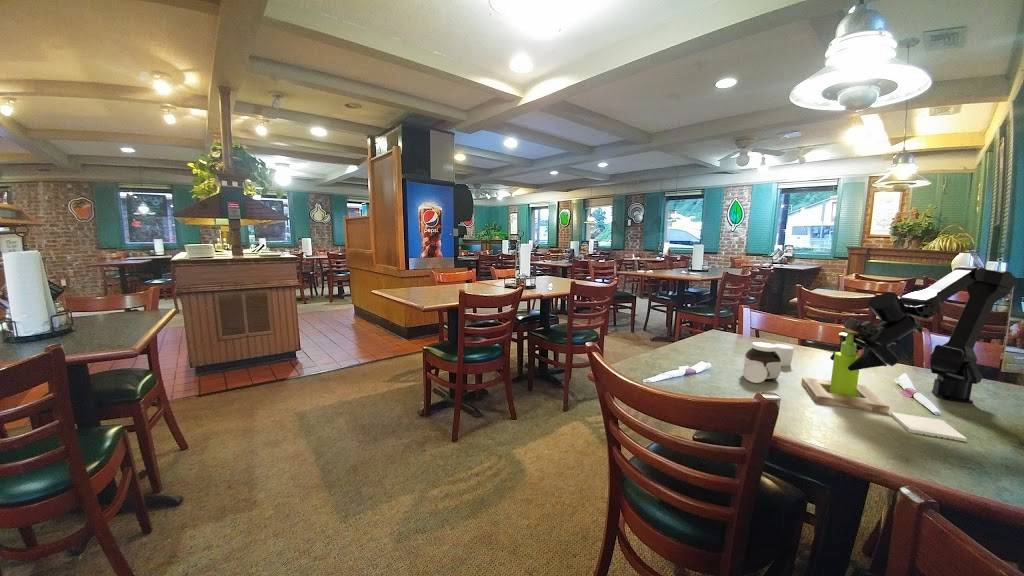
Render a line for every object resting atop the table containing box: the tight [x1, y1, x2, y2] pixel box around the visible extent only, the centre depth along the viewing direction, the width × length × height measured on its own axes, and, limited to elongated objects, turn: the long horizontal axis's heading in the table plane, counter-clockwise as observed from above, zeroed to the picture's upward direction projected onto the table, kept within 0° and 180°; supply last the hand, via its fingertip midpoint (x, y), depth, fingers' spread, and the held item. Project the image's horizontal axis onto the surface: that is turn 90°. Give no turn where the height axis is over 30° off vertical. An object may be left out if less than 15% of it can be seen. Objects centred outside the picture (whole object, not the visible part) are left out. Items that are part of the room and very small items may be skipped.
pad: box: [889, 411, 968, 442], centre depth 96 cm, size 10×10×1 cm
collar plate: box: [801, 376, 891, 414], centre depth 114 cm, size 16×16×2 cm
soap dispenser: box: [829, 331, 861, 397], centre depth 112 cm, size 6×7×20 cm
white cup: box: [773, 343, 795, 367], centre depth 143 cm, size 7×7×7 cm
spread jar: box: [742, 341, 782, 384], centre depth 127 cm, size 12×11×12 cm
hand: (839, 364), depth 113 cm, fingers open, 9 cm apart
